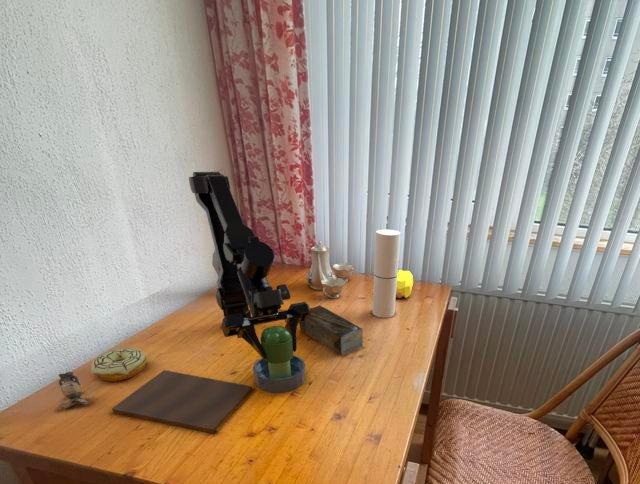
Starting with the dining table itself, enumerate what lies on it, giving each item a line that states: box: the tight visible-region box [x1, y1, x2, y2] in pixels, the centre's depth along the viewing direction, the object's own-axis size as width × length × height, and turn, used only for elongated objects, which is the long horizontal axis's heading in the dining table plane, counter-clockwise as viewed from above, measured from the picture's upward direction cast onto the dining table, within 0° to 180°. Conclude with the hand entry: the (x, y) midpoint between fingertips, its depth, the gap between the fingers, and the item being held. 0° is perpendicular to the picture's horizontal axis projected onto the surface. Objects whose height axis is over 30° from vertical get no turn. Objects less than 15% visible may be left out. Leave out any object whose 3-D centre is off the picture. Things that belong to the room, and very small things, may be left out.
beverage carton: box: [298, 305, 364, 355], centre depth 105 cm, size 8×19×7 cm, turn 45°
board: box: [111, 369, 254, 435], centre depth 80 cm, size 22×15×1 cm
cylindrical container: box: [371, 228, 402, 319], centre depth 117 cm, size 7×7×25 cm
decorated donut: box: [90, 347, 148, 383], centre depth 87 cm, size 10×11×4 cm
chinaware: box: [305, 240, 355, 299], centre depth 137 cm, size 28×17×17 cm, turn 179°
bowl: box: [252, 354, 307, 394], centre depth 88 cm, size 11×11×4 cm
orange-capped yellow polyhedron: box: [396, 269, 414, 299], centre depth 139 cm, size 18×7×8 cm
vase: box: [58, 371, 90, 411], centre depth 77 cm, size 5×5×6 cm
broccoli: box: [259, 325, 294, 379], centre depth 85 cm, size 7×7×13 cm
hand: (280, 354), depth 84 cm, fingers closed on broccoli, 6 cm apart
